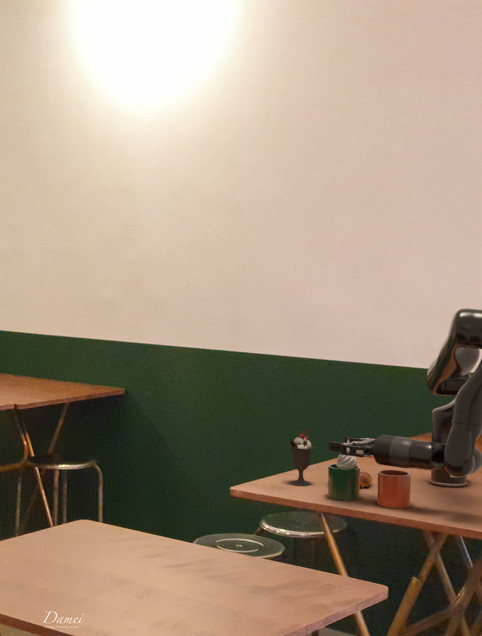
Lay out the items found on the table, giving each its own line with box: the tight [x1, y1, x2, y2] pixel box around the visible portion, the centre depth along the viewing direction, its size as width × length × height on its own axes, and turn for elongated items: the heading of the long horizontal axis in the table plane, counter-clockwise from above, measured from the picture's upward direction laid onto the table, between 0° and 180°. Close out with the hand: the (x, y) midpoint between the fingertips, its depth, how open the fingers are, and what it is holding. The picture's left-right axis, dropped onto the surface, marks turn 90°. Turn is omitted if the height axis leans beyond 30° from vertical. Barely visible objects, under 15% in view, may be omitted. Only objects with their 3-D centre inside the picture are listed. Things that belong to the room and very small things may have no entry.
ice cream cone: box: [335, 439, 358, 469], centre depth 279 cm, size 5×5×15 cm
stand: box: [327, 463, 361, 502], centre depth 280 cm, size 8×8×8 cm
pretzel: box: [360, 471, 373, 488], centre depth 294 cm, size 12×11×4 cm
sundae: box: [288, 427, 315, 486], centre depth 296 cm, size 7×7×15 cm
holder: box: [376, 469, 412, 509], centre depth 272 cm, size 8×8×8 cm
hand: (337, 443), depth 281 cm, fingers open, 8 cm apart
